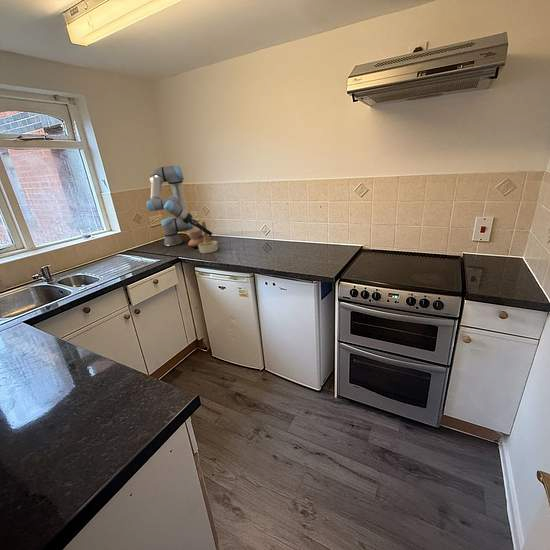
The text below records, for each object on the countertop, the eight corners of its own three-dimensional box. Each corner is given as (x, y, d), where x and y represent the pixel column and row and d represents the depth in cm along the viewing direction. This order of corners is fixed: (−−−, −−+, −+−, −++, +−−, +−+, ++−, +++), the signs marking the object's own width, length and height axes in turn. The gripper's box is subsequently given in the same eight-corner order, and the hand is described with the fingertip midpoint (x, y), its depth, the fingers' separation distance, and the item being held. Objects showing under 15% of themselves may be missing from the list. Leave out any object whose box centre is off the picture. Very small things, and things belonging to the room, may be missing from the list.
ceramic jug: (184, 248, 246) (180, 232, 241) (195, 243, 258) (192, 227, 253) (201, 249, 238) (198, 232, 233) (212, 244, 250) (209, 227, 245)
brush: (205, 241, 232) (201, 221, 226) (211, 241, 231) (208, 220, 225) (202, 243, 227) (198, 223, 221) (209, 243, 226) (205, 222, 220)
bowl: (203, 248, 240) (202, 241, 238) (221, 247, 237) (219, 240, 235) (196, 254, 226) (195, 246, 224) (214, 253, 224) (213, 245, 222)
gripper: (179, 219, 222) (205, 236, 235) (184, 222, 209) (211, 240, 222) (184, 211, 222) (210, 228, 236) (190, 213, 209) (217, 231, 223)
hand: (210, 234), depth 229 cm, fingers closed on brush, 3 cm apart
